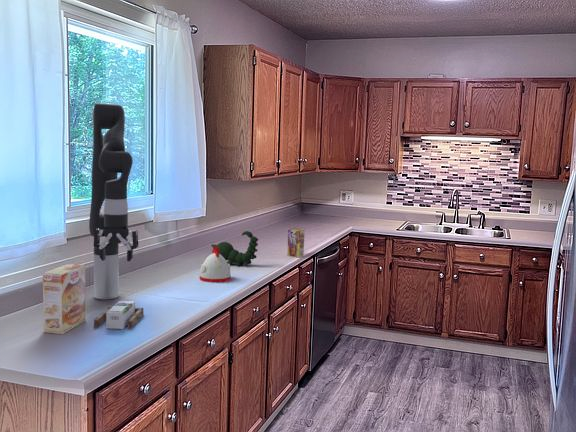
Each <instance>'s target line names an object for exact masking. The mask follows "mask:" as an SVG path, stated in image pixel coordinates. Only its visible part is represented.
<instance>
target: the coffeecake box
mask: <svg viewBox="0 0 576 432" xmlns="http://www.w3.org/2000/svg"><path fill="white" fill-rule="evenodd" d="M42 301H43V302H42V303H43V305H42V306H43V308H42V309H43V316H42V317H43V333H46V334H56V335H57V334H58V335H64V334H65V333H67V332H69V331H71V330H72V329H74V328H76V327H77V326H80V325H82V324H83V323H84V322H86V319H87V318H86V315H87V314H86V313H87V312H86V265H84V264H83V265H82V264H73V263H72V264H71V263H66V264H64V265H62V266H59V267H56V268H53V269H51V270H48V271H45V272H42Z"/></svg>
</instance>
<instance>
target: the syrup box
mask: <svg viewBox="0 0 576 432" xmlns="http://www.w3.org/2000/svg"><path fill="white" fill-rule="evenodd" d="M111 307H112V308H111V309H110V310H109V311H108V312H106V320H105V321H106V322H105V323H106V324H105V325H106V326H105V327H106V329H108V330H124V329H125V328H126V326H128V320H129V319H130V318H131V317H132V316H133V315H134V314H135V308H136V301H133V300H132V301H130V300H128V301H127V300H118V302H116V303H115V304H114V305H113V306H111Z"/></svg>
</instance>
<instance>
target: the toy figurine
mask: <svg viewBox="0 0 576 432" xmlns="http://www.w3.org/2000/svg"><path fill="white" fill-rule="evenodd" d="M244 235H245V236H247V237H248V238H250V239H249V240H250V241H249V243H248V246H247V250H246V251H245V252H240V251H239V250H237V249H235V248H234V246H233V245H232V243H229V242H228V241H222V242H220V243H218V244H210V245H211V247H212V249H213V248H214V246H216V247H217V248H218V251H219V254H220V255H221V256H223V257H224V259H225V260H226V261H227V263H228V264H230V265H233V264H236V267H240V266H241V265H245V266H247V265H250V264H252V260H254V259H256V258H257V255H256V254H255V253H256V252H258V249H257V247H258V245H259V244H258V241H259V238H258V237H256V236H254V234H253V233H252V232H251V231H249V230H245V231H243V232H242V233H241V236H244Z"/></svg>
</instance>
